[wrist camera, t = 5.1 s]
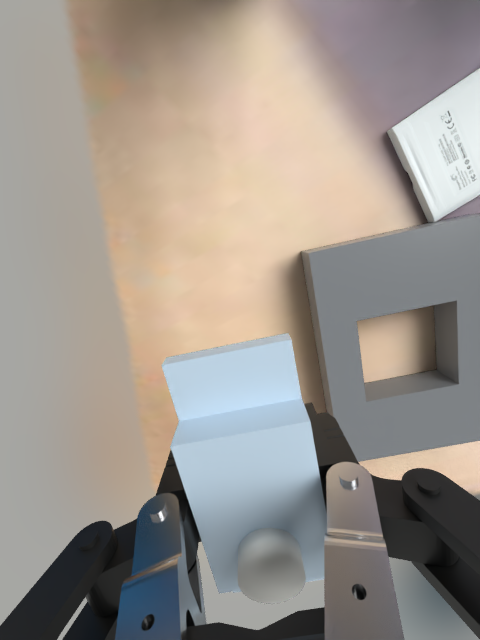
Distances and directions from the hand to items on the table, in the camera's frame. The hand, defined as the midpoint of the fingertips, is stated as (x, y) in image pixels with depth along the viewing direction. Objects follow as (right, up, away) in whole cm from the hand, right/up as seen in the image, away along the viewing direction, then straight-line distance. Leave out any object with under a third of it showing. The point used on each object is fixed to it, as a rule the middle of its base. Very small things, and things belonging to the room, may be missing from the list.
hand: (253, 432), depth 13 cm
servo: (0, 0, +1) cm, 1 cm away
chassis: (+14, +3, +15) cm, 20 cm away
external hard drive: (+18, +20, +11) cm, 29 cm away
